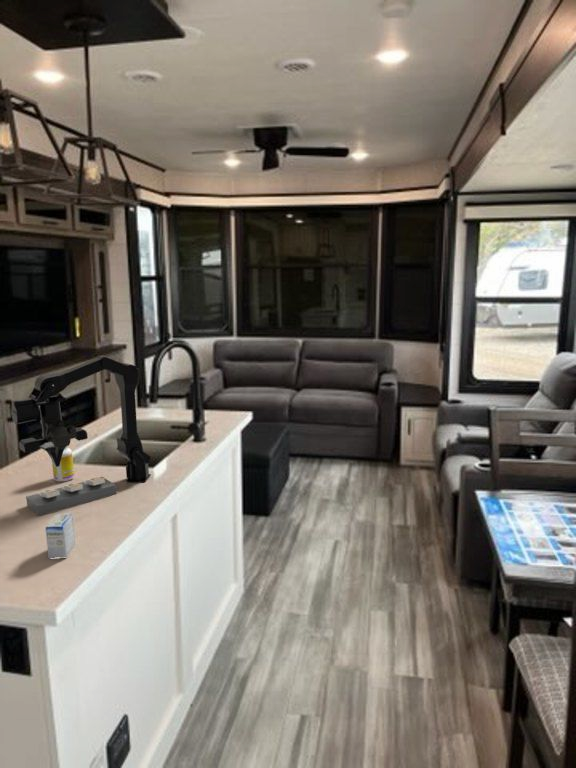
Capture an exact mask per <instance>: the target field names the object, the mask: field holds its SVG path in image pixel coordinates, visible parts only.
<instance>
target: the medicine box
mask: <svg viewBox="0 0 576 768" xmlns="http://www.w3.org/2000/svg"><path fill="white" fill-rule="evenodd" d="M74 524H75V523H74V516H73V514H72V513H56V514H54V516H53V517H52V519H51V520H50V521H49V522H48V524H47V525H46V526H45V536H46V545H47V555H48V556H47V557H48V559H49V558H55V557H67V558H68V556H69V555H70V553H71V551H72V549H73V548H72V547H74V546H75V545H76V536H75V534H76V533H75V525H74ZM73 545H74V546H73ZM71 548H72V549H71ZM70 550H71V551H70ZM69 552H70V553H69ZM68 554H69V555H68ZM67 555H68V556H67Z"/></svg>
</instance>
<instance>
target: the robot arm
mask: <svg viewBox="0 0 576 768" xmlns="http://www.w3.org/2000/svg"><path fill="white" fill-rule="evenodd" d="M102 371H107V372H109V373H112V374H113V375H114V378H115V379H114V380H115V383H116V384H117V387H118V389H119V392H120V394H119V395H120V407H121V409H120V410H121V411H120V412H121V427H122V433H121V437H117V438H116V443H117V447H116V450H117V451H118V453H119V454H120V456H122V457H123V458H124V459H125V461H127V462H126V466H125V473H126V482H127V483H146V481H147V480H148V479H149V478H150V477H151V476H152V475H151V473H150V472H149V471H150V470H149V464H150V461H151V456H150V455H149V454H147V453H146V452H145V451H144V448H143V443H142V441H141V437H140V436H139V433H138V424H137V423H138V422H137V405H136V404H137V403H136V389H137V387H138V385H139V378H140V370H139V368H138V367H137V366H136V365H134V364H130V363H126V362H119V361H116V360H114V359H112V358H110V357H108V356H105V355H98V356H97V357H95V358H93V359H90V360H88V361H85V362H83V363H80V364H78V365H76V366H74V367H71V368H68V369H66V370H63V371H58V372H52V373H47V374H42V375H40V376H38V377H36V379H35V381H34V387H33V389H32V390H31V391H30V392H31V393H30V394H29V396H28V398H25V399H16V400H12V401H11V403H12V405H11V411H10V413H11V418H12V421H13V423H14V424H15V425H20V424H25V423H30V422H33V421H37V420H38V419H39V417H40V420H39V421H40V422H39V423H40V425H41V429H42V433H41V436H42V438H39V439H37V438H34V437H28V438H25V439H20V441H18V446H19V450H20V451H22V452H23V453H26V454H28V453H33V452H37V451H38V450H39V449H40V448H41V449H42V450H44V451H46V453H47V454H48V455H49V458H50V459H51V462H52V461H53V463H54V464H55V466H56V467H58V466H59V465H60V462H61V458H62V454H63V451H64V449H65V448H66V446H68V447H69V446H70V445H71V440H73V439H75V440H77V441H78V442H81V441H84V440H87V439H89V438H88V432H87V430H85V429H83V428H81V427H80V426H79V427H78V426H77V427H76V426H75V425H72V426H68V427H66V426H65V422H64V420H63V419H62V411H61V403H60V402H65V401H67V400H68V399H67V397H65V396H63V394H61V392H63V391H64V390H66V389H67V388H68V386H70V385H72V384H74V383H76V382H78V381H81V380H83V379H85V378H88V377H90V376H92V375H95V374H97V373H99V372H102ZM53 445H54V446H53Z"/></svg>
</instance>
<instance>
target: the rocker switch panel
mask: <svg viewBox="0 0 576 768" xmlns="http://www.w3.org/2000/svg"><path fill="white" fill-rule="evenodd" d="M99 478H103V479H105V483H101V484H98V485H88V484H86V480H85V481H81V482H76V483H77V484H81V485H83V489H80V490H76V491H73V492H70V491H67V490H64V486H62V487H61V486H60V487H59V488H53V489H54V490H58V491H59V492H60V495H57V496H53V497H50V498H46V497H42V496H41V493H40V492H39V493H35V494H32V495H28V496H26V498H25V499H26V505H27V507H28V508H29V509H30V510H31V511H32V512H33V513H35V515H36V516H38V517H40V516H43V515H48V514H51V513H54V512H57V511H61V510H65V509H68V508H71V507H74V506H78V505H81V504H85V503H89V502H93V501H95V500H99V498H100V499H103V498H106V497H105V496H107V497H109V496H108V495H110V496H113V495H112V494H114V495H117V485H116V484H115V483H114V482H112V481H110V480H109V479H107V478H106V477H104V476H100V477H99ZM102 497H103V498H102Z"/></svg>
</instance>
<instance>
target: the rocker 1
mask: <svg viewBox="0 0 576 768" xmlns="http://www.w3.org/2000/svg"><path fill="white" fill-rule="evenodd" d="M54 489H55V488H52V489H47V490H43V491H40V492H39V493H41V496H42V497H46V498H50V497H53V496H57V495H60V492H59V491H58V490H54Z"/></svg>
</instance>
